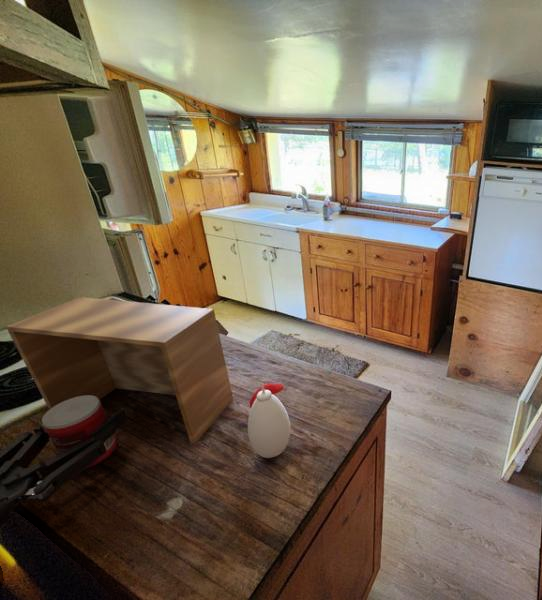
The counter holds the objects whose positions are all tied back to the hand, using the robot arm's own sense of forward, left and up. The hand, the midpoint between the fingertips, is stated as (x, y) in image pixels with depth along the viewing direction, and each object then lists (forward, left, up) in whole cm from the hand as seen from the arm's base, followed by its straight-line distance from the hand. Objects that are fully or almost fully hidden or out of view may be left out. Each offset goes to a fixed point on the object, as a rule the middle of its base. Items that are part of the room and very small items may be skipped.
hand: (105, 411), depth 65 cm
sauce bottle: (+33, +2, -8) cm, 34 cm away
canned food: (0, -5, -6) cm, 8 cm away
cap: (+26, +14, -8) cm, 31 cm away
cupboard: (0, +9, -8) cm, 12 cm away
